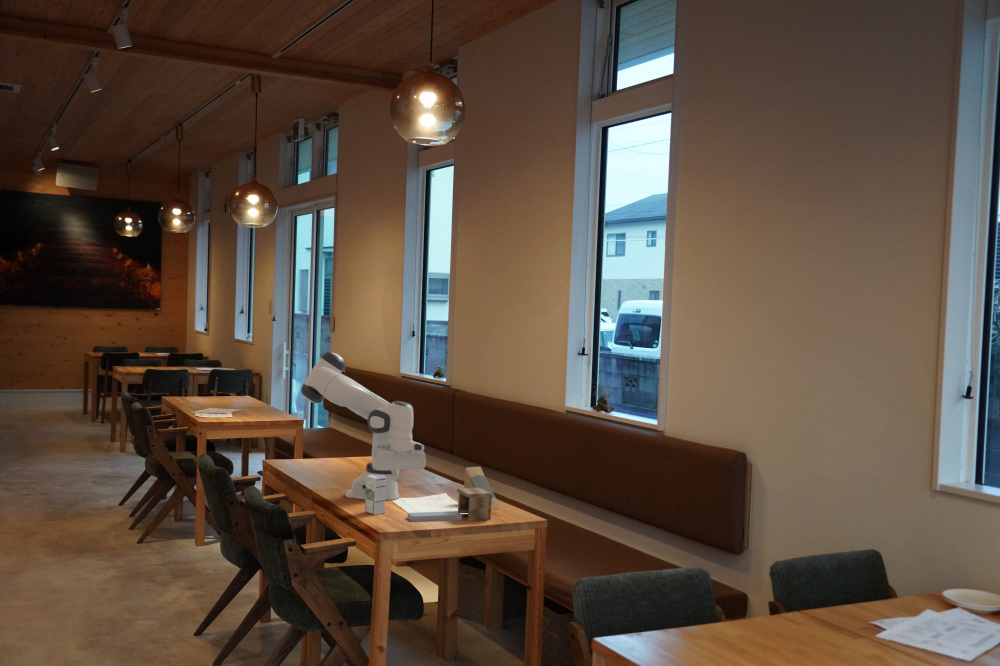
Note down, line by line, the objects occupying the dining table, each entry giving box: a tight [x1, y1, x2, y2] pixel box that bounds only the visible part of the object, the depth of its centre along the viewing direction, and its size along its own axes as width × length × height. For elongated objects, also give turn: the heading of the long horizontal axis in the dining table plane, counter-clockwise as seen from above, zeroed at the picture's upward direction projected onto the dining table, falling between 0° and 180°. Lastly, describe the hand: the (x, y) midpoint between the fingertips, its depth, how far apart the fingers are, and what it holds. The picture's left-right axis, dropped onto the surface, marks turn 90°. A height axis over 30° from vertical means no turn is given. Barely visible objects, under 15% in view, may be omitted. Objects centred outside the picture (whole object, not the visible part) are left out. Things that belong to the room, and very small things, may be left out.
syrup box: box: [364, 474, 386, 516], centre depth 337 cm, size 6×6×14 cm
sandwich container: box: [463, 466, 501, 510], centre depth 363 cm, size 9×15×15 cm, turn 41°
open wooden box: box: [456, 487, 492, 521], centre depth 340 cm, size 10×11×10 cm
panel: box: [407, 510, 463, 522], centre depth 333 cm, size 20×6×2 cm, turn 113°
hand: (398, 481), depth 326 cm, fingers closed
